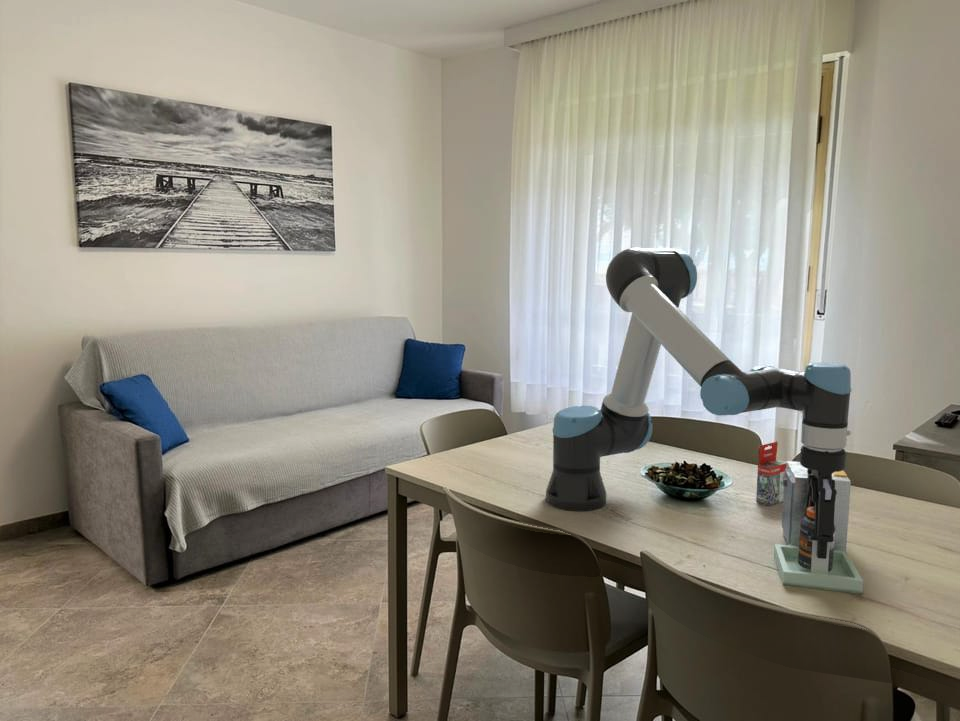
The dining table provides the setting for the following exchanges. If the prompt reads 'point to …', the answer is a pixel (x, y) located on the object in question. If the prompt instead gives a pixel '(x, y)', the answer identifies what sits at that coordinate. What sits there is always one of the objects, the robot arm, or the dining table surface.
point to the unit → (797, 503)
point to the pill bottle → (810, 541)
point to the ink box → (770, 476)
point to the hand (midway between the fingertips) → (815, 565)
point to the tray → (837, 579)
